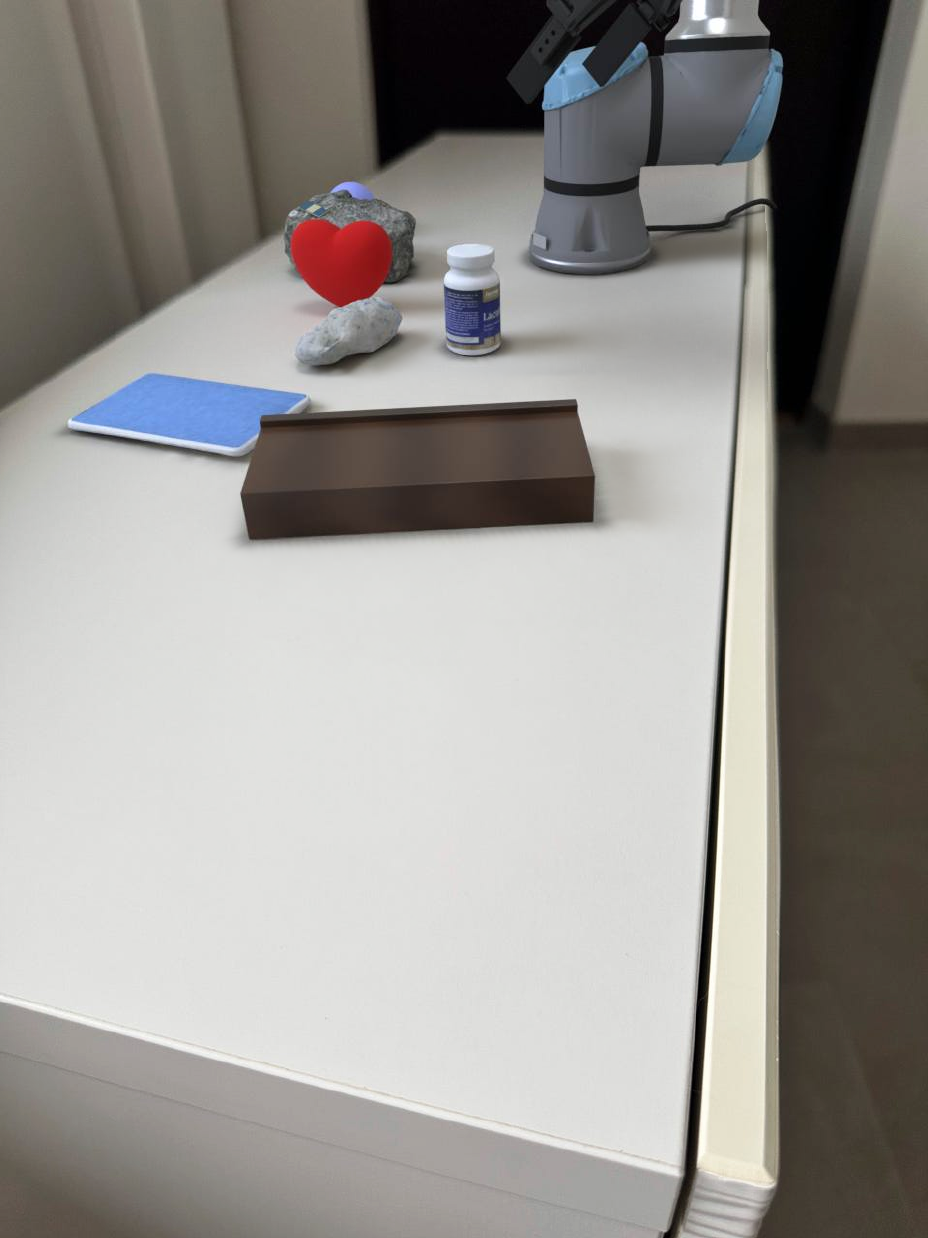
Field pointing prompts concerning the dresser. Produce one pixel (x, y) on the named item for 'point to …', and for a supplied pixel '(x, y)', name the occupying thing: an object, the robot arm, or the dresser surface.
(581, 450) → the ledge
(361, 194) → the sphere
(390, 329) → the decorative stone
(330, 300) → the heart
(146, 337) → the dresser surface
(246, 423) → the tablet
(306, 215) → the rock
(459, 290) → the pill bottle
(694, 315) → the dresser surface
